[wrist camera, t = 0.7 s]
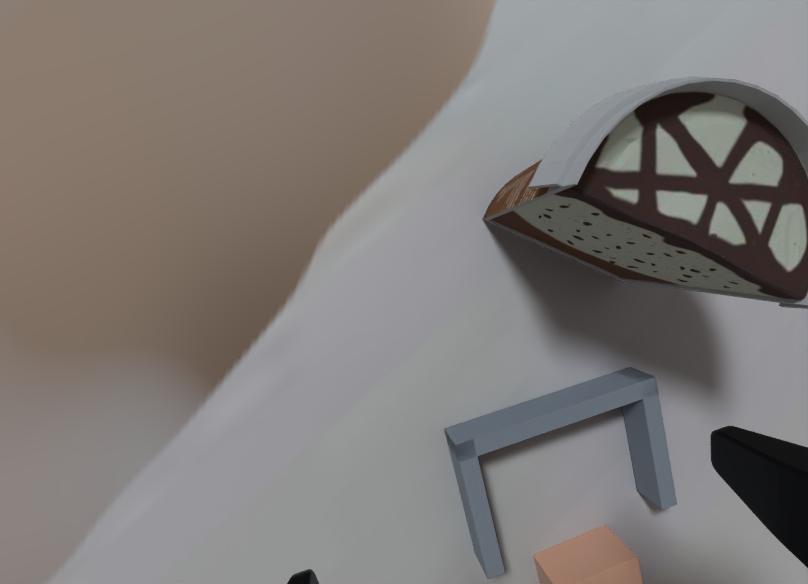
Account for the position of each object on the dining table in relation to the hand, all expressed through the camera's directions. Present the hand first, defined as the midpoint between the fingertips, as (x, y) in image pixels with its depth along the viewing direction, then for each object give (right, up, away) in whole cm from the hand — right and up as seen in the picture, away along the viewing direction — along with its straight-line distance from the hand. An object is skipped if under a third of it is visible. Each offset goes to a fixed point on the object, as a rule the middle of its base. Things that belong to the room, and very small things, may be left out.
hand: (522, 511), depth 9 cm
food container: (+7, +10, +15) cm, 19 cm away
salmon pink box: (+8, -13, +18) cm, 23 cm away
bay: (+7, -6, +16) cm, 19 cm away
